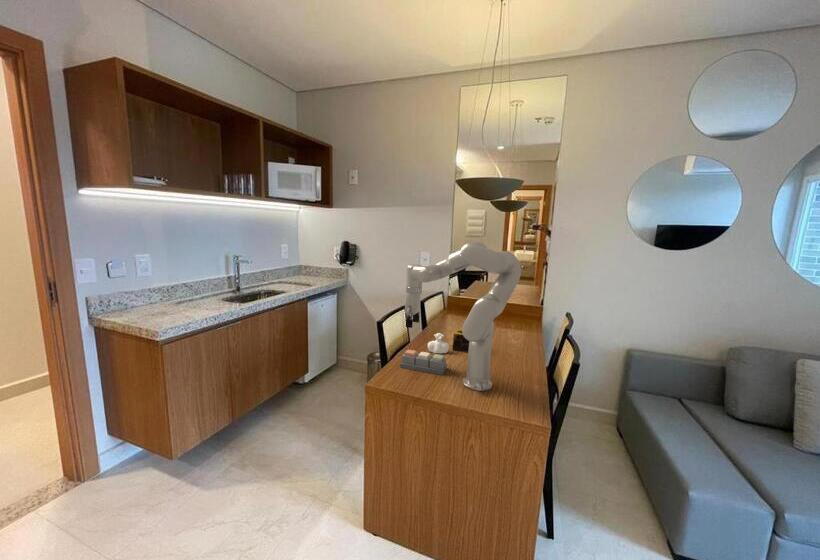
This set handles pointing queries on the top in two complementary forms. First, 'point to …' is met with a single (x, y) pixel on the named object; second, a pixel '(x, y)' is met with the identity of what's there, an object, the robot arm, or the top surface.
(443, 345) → the bust
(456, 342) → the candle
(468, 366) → the robot arm
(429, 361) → the button board
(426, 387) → the top surface
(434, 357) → the sage button
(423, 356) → the cream button
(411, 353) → the terracotta button
